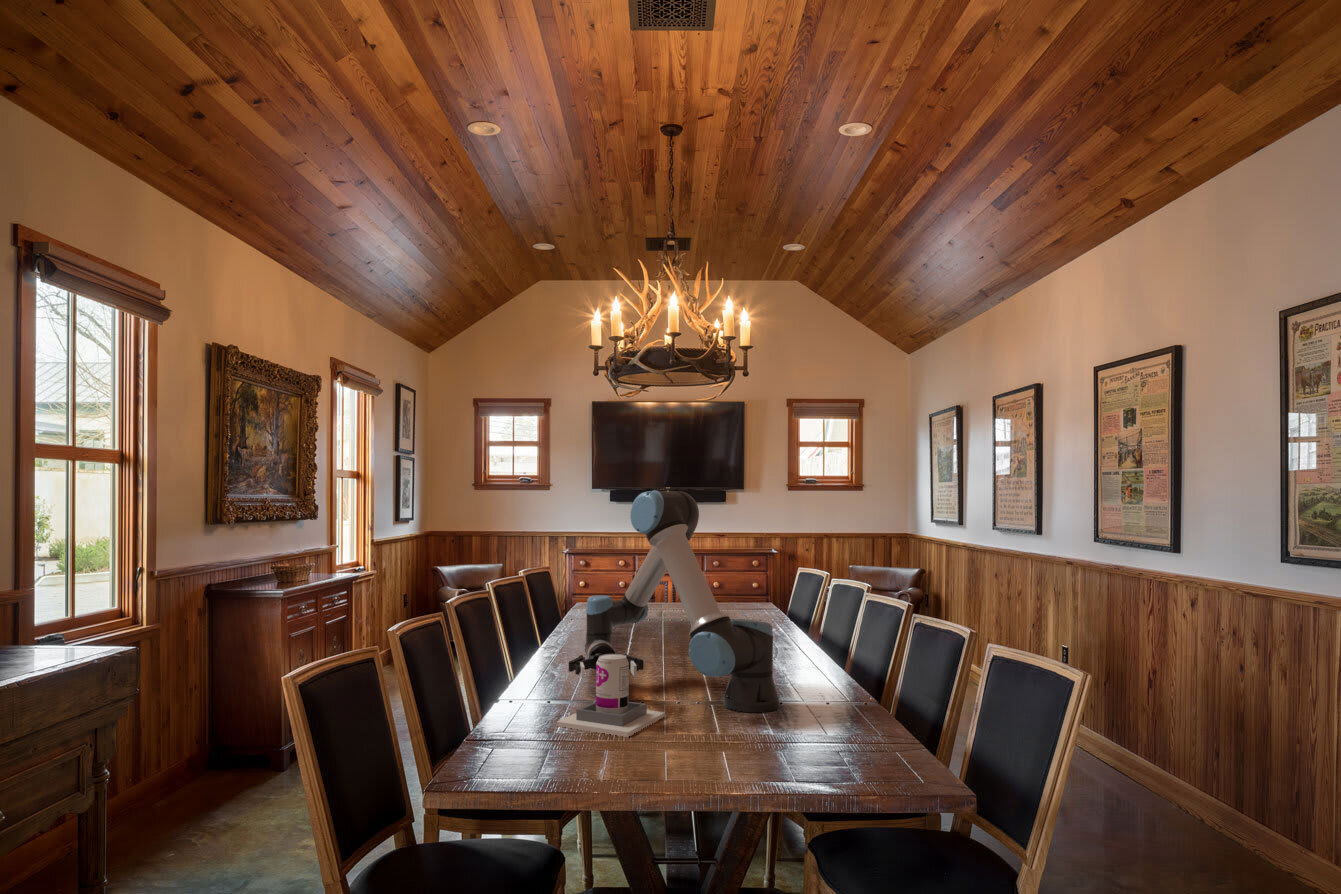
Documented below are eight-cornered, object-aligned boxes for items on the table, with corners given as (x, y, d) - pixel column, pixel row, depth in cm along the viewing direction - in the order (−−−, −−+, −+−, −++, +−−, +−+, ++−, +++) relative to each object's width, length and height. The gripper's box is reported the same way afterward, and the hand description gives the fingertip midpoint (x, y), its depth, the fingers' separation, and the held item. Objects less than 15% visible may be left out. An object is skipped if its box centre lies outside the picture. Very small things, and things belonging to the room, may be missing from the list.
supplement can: (603, 722, 203) (604, 660, 204) (590, 714, 211) (591, 655, 212) (633, 718, 207) (634, 658, 208) (620, 711, 214) (620, 652, 215)
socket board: (664, 717, 213) (665, 702, 214) (627, 737, 195) (628, 721, 196) (598, 707, 222) (598, 693, 222) (556, 726, 204) (556, 711, 204)
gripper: (644, 667, 238) (656, 684, 217) (557, 670, 234) (560, 687, 213) (645, 641, 239) (656, 656, 218) (557, 643, 234) (561, 658, 214)
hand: (609, 671), depth 215 cm, fingers open, 13 cm apart
